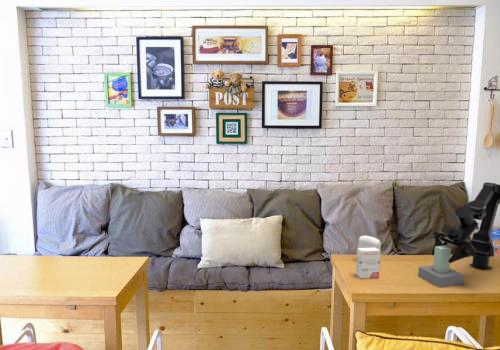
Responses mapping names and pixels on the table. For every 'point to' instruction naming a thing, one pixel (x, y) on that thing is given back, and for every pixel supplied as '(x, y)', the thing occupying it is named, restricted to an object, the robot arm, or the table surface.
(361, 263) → the ink box
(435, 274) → the grey square socket block
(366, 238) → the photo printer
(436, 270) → the pale green block
